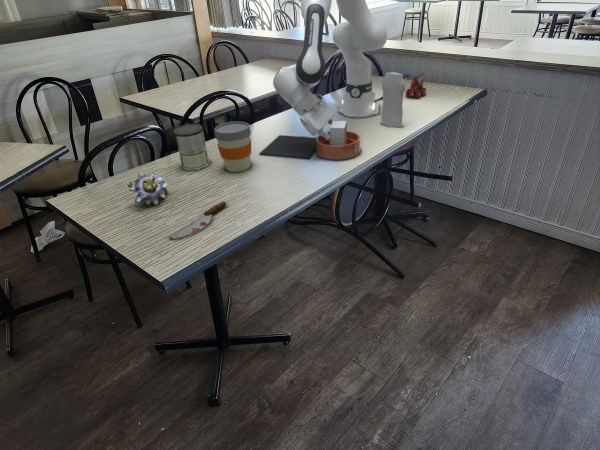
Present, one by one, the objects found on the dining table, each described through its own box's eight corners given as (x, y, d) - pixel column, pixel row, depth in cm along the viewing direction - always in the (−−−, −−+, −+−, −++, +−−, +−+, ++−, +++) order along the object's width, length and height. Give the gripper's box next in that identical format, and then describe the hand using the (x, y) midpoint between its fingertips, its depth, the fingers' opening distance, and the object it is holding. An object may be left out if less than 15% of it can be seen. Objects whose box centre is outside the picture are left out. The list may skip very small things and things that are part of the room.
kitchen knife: (179, 241, 113) (167, 234, 115) (180, 246, 114) (168, 238, 116) (234, 205, 126) (222, 199, 128) (234, 209, 127) (223, 203, 129)
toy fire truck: (403, 98, 212) (404, 77, 206) (415, 92, 220) (416, 72, 214) (415, 100, 208) (417, 78, 202) (427, 94, 216) (429, 73, 210)
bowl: (324, 142, 168) (324, 129, 165) (364, 145, 163) (364, 131, 160) (311, 158, 156) (310, 144, 153) (353, 162, 150) (353, 147, 147)
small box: (344, 155, 155) (344, 127, 149) (329, 154, 156) (329, 127, 150) (346, 147, 162) (347, 120, 156) (332, 146, 163) (332, 120, 157)
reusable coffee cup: (217, 164, 157) (210, 125, 149) (249, 157, 160) (244, 119, 152) (225, 177, 147) (218, 136, 139) (259, 169, 150) (254, 128, 142)
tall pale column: (378, 124, 182) (379, 72, 170) (382, 121, 184) (385, 69, 173) (400, 128, 176) (403, 74, 164) (404, 125, 178) (408, 72, 167)
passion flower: (160, 218, 136) (137, 203, 125) (138, 205, 140) (114, 189, 129) (180, 190, 138) (160, 172, 127) (157, 178, 142) (136, 160, 132)
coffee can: (176, 165, 158) (168, 129, 150) (200, 157, 164) (192, 122, 156) (191, 173, 151) (183, 135, 144) (215, 163, 157) (208, 127, 150)
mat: (279, 136, 177) (279, 135, 177) (324, 139, 171) (324, 138, 170) (259, 154, 162) (259, 153, 161) (308, 159, 155) (307, 157, 155)
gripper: (303, 109, 144) (330, 138, 146) (321, 93, 160) (346, 119, 162) (291, 121, 148) (319, 149, 150) (311, 104, 164) (335, 130, 166)
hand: (333, 134), depth 156 cm, fingers closed on small box, 8 cm apart
